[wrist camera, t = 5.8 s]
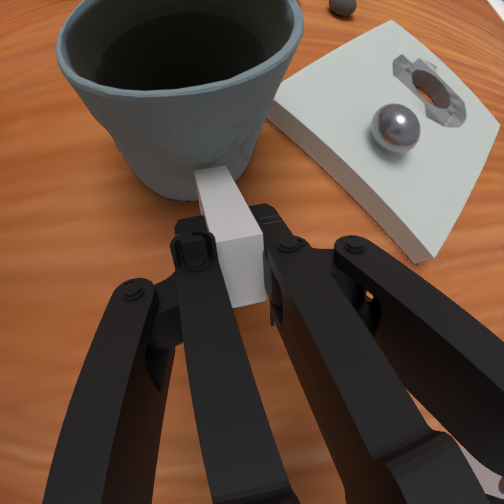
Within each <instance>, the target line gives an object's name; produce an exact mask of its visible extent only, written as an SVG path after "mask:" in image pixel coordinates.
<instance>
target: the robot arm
mask: <svg viewBox="0 0 504 504" xmlns="http://www.w3.org/2000/svg"><path fill="white" fill-rule="evenodd" d="M194 174H195V180H196V187H197V194H198V200H199V207H200V213H201V216H196V217H191V218H186V219H180V220H179V221H178V222H177V224H176V225H175V227H174V229H175V238H174V239H173V240H172V241H171V243H170V249H171V253H172V257H173V261H174V265H175V269H176V270H175V272H174V273H173V274H172V275H171V276H170V277H168V278H167V279H165V280H164V281H162V282H159V283H157V284H155V285H153V283H152V282H151V281H149V280H148V279H144V278H135V279H130V280H128V281H126V282H123V283H122V284H121V285H119V286H118V287H117V288H116V289H115V291H114V292H113V294H112V296H111V298H110V301H109V303H108V305H107V307H106V310H105V312H104V314H103V317H102V319H101V321H100V324H99V326H98V329H97V331H96V333H95V336H94V338H93V341H92V343H91V346H90V348H89V351H88V353H87V356H86V359H85V361H84V364H83V367H82V369H81V372H80V375H79V377H78V380H77V383H76V386H75V389H74V392H73V394H72V397H71V400H70V403H69V406H68V409H67V413H66V416H65V419H64V422H63V425H62V429H61V432H60V435H59V439H58V442H57V446H56V449H55V453H54V457H53V460H52V464H51V468H50V472H49V476H48V480H47V485H46V489H45V493H44V498H43V503H42V504H152V496H153V488H154V480H155V472H156V465H157V458H158V451H159V444H160V437H161V430H162V424H163V418H164V411H165V405H166V399H167V394H168V388H169V382H170V377H171V371H172V366H173V360H174V355H175V346H177V345H179V344H181V343H183V342H184V349H185V357H186V364H187V371H188V377H189V384H190V390H191V396H192V402H193V408H194V414H195V419H196V425H197V430H198V436H199V441H200V446H201V451H202V456H203V461H204V465H205V470H206V475H207V479H208V484H209V488H210V492H211V496H212V501H213V504H300V502H299V500H298V498H297V496H296V495H295V493H294V492H293V490H292V488H291V486H290V483H289V481H288V478H287V475H286V472H285V469H284V466H283V464H282V461H281V458H280V455H279V452H278V449H277V446H276V443H275V440H274V437H273V434H272V431H271V428H270V425H269V422H268V419H267V416H266V413H265V410H264V407H263V404H262V401H261V398H260V395H259V392H258V389H257V386H256V383H255V380H254V376H253V373H252V370H251V367H250V364H249V361H248V357H247V354H246V351H245V348H244V344H243V341H242V338H241V335H240V331H239V328H238V325H237V322H236V318H235V315H234V312H233V308H236V307H241V306H245V305H250V304H255V303H259V302H264V301H266V291H267V294H268V296H269V298H270V322H271V326H274V321H275V323H276V326H277V328H278V330H279V333H280V335H281V338H282V340H283V342H284V345H285V347H286V350H287V352H288V354H289V357H290V359H291V362H292V364H293V366H294V369H295V371H296V374H297V376H298V378H299V381H300V383H301V386H302V388H303V390H304V393H305V395H306V398H307V400H308V402H309V405H310V407H311V409H312V412H313V414H314V417H315V419H316V421H317V424H318V426H319V429H320V431H321V433H322V436H323V438H324V440H325V443H326V445H327V447H328V450H329V452H330V455H331V457H332V459H333V462H334V464H335V466H336V469H337V471H338V473H339V476H340V478H341V481H342V483H343V486H344V489H345V500H346V504H504V499H500V498H497V497H494V496H491V495H488V494H485V492H484V490H483V489H482V487H481V485H480V483H479V481H478V479H477V477H476V476H475V474H474V472H473V470H472V468H471V467H470V465H469V463H468V461H467V459H466V458H465V456H464V454H463V452H462V451H461V449H460V447H459V446H458V444H457V443H456V441H455V440H454V439H453V438H452V436H453V437H454V438H455V439H456V440H457V441H458V442H459V443H460V444H461V445H462V446H463V447H464V448H465V449H466V450H467V451H468V452H469V453H470V454H471V455H472V456H473V457H474V458H475V459H477V460H478V461H479V462H480V463H481V464H482V465H484V466H485V467H486V468H488V469H489V470H491V471H493V472H494V473H497V474H498V475H500V476H502V478H501V480H500V481H499V486H498V487H499V491H500V492H501V493H502V494H504V342H503V341H502V340H501V339H499V338H498V337H497V336H496V335H495V334H493V333H492V332H491V331H490V330H489V329H487V328H486V327H485V326H484V325H482V324H481V323H480V322H479V321H478V320H476V319H475V318H474V317H473V316H471V315H470V314H469V313H468V312H466V311H465V310H464V309H462V308H461V307H460V306H459V305H457V304H456V303H455V302H454V301H452V300H451V299H450V298H448V297H447V296H446V295H444V294H443V293H442V292H440V291H439V290H438V289H436V288H435V287H434V286H432V285H431V284H430V283H428V282H427V281H426V280H424V279H423V278H422V277H420V276H419V275H418V274H416V273H415V272H413V271H412V270H411V269H409V268H408V267H407V266H405V265H404V264H402V263H401V262H400V261H398V260H397V259H395V258H394V257H392V256H391V255H390V254H388V253H387V252H385V251H384V250H382V249H381V248H380V247H378V246H377V245H375V244H374V243H372V242H371V241H369V240H367V239H365V238H363V237H359V236H354V235H353V236H352V235H350V236H344V237H341V238H339V239H337V240H336V242H335V244H334V249H316V248H312V247H311V246H310V244H309V243H308V242H307V241H306V240H305V239H303V238H300V237H298V236H293V234H292V233H291V231H290V230H289V228H288V227H287V225H286V224H285V223H284V221H283V220H282V218H281V217H280V216H279V214H278V212H277V211H276V210H275V208H273V207H272V206H270V205H268V204H266V203H265V204H259V205H253V206H248V205H247V204H246V202H245V200H244V198H243V196H242V194H241V193H240V191H239V189H238V187H237V185H236V184H235V182H234V180H233V178H232V176H231V175H230V173H229V171H228V169H227V167H226V166H225V165H224V166H218V167H212V168H206V169H200V170H194ZM367 291H368V292H369V293H371V294H372V295H373V299H371V298H369V297H368V296H367V295H366V293H367ZM406 389H407V390H408V391H409V392H410V393H411V394H412V395H413V396H414V397H415V398H416V399H417V400H418V401H419V402H420V403H421V404H422V405H423V406H424V407H425V408H426V409H427V410H428V411H429V412H430V413H431V414H432V415H433V416H434V417H435V418H436V419H437V420H438V421H439V423H440V424H441V425H442V426H443V427H444V428H445V429H446V430H447V431H448V432H449V433H450V434H451V435H452V436H450V435H449V434H447V433H446V432H441V431H435V430H433V429H431V428H430V427H429V426H428V424H427V423H426V421H425V420H424V418H423V416H422V415H421V413H420V411H419V410H418V408H417V406H416V405H415V403H414V401H413V400H412V398H411V396H410V395H409V393H408V391H407V390H406Z"/></svg>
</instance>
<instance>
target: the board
mask: <svg viewBox="0 0 504 504" xmlns="http://www.w3.org/2000/svg"><path fill="white" fill-rule="evenodd" d="M415 86H416V87H418V88H420V89H422V90H423V91H424V92H425V93H426V94H427V95H428V96H429V97H430V98H431V99H432V101H433V103H434V105H435V106H434V105H432V104H430V103H428V102H427V101H426V100H425V99H424V98H423V97H422V96H421V95H420V94H419V93H418V91H417V89H416V88H415ZM391 103H397V104H401V105H404V106H406V107H408V108H409V109H410V110H412V111H413V112H414V114H415V115H416V116H417V118H418V120H419V123H420V128H421V134H420V138H419V141H418V143H417V144H416V146H415V147H414V148H413V149H411V150H410V151H408V152H406V153H402V154H394V153H390V152H388V151H386V150H384V149H382V148H381V147H380V146H379V145H378V144H377V143H376V141H375V140H374V138H373V135H372V132H371V121H372V118H373V115H374V114H375V112H376V111H377V110H378V109H379V108H380V107H382V106H384V105H386V104H391ZM266 118H267V119H268V120H269V121H270V122H271V123H273V124H274V125H275V126H276V127H277V128H278V129H280V130H281V131H282V132H283V133H284V134H285V135H287V136H288V137H289V138H290V139H291V140H292V141H293V142H294V143H296V144H297V145H298V146H299V147H300V148H301V149H302V150H303V151H305V152H306V153H307V154H308V155H309V156H310V157H311V158H312V159H313V160H314V161H315V162H316V163H318V164H319V165H320V166H321V167H322V168H323V169H324V170H325V171H326V172H327V173H328V174H329V175H330V176H331V177H332V178H333V179H334V180H335V181H336V182H337V183H339V184H340V185H341V186H342V187H343V188H344V189H345V190H346V191H347V192H348V193H349V194H350V195H351V196H352V197H353V198H354V199H355V200H356V201H357V202H358V203H359V204H360V205H361V206H362V208H363V209H364V210H365V211H366V212H367V213H368V214H369V215H370V216H371V217H372V218H373V219H374V220H375V221H376V222H377V223H378V224H379V225H380V226H381V227H382V229H383V230H384V231H385V232H386V233H387V234H388V235H389V236H390V237H391V238H392V239H393V241H394V242H395V243H396V244H397V245H398V246H399V247H400V248H401V249H402V251H403V252H404V253H405V254H406V255H407V256H408V257H409V259H410V260H411V261H412V262H413V263H414V264H417V263H420V262H423V261H427V260H430V259H434V258H435V256H436V255H437V253H438V251H439V250H440V248H441V246H442V245H443V243H444V241H445V240H446V238H447V236H448V234H449V233H450V231H451V229H452V227H453V225H454V224H455V222H456V220H457V218H458V216H459V214H460V213H461V211H462V209H463V207H464V205H465V203H466V201H467V199H468V197H469V195H470V193H471V191H472V189H473V187H474V185H475V183H476V181H477V179H478V177H479V175H480V172H481V170H482V168H483V166H484V164H485V161H486V159H487V157H488V154H489V152H490V150H491V147H492V145H493V143H494V140H495V138H496V135H497V133H498V130H499V127H500V124H499V123H498V122H497V120H496V119H495V118H494V117H493V115H492V114H491V113H490V112H489V111H488V110H487V108H486V107H485V106H484V105H483V104H482V103H481V101H480V100H479V99H478V98H477V97H476V96H475V95H474V94H473V93H472V91H471V90H470V89H469V88H468V87H467V86H466V85H465V84H464V83H463V82H462V81H461V80H460V79H459V78H458V77H457V76H456V75H455V74H454V73H453V72H452V71H451V70H450V69H449V68H448V67H447V66H446V65H445V64H444V63H443V62H442V61H441V60H440V59H439V58H437V57H436V56H435V55H434V54H433V53H432V52H431V51H430V50H429V49H427V48H426V47H425V46H424V45H423V44H422V43H420V42H419V41H418V40H417V39H416V38H414V37H413V36H412V35H411V34H410V33H408V32H407V31H406V30H405V29H403V28H402V27H401V26H399V25H398V24H397V23H396V22H394V21H393V20H390V21H388V22H386V23H384V24H382V25H380V26H378V27H376V28H374V29H372V30H370V31H368V32H366V33H364V34H362V35H360V36H358V37H357V38H355V39H353V40H351V41H349V42H348V43H346V44H344V45H342V46H340V47H339V48H337V49H335V50H333V51H332V52H330V53H328V54H327V55H325V56H323V57H321V58H320V59H318V60H317V61H315V62H313V63H312V64H310V65H308V66H307V67H305V68H303V69H302V70H300V71H299V72H297V73H296V74H294V75H292V76H291V77H289V78H288V79H286V80H285V81H283V82H282V83H281V84H280V86H279V88H278V90H277V92H276V95H275V97H274V100H273V101H272V103H271V105H270V107H268V115H267V117H266Z"/></svg>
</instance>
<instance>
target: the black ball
mask: <svg viewBox="0 0 504 504" xmlns="http://www.w3.org/2000/svg"><path fill="white" fill-rule="evenodd" d="M329 6H330V8H331V10H332V11H333V12H335V13H336V14H338V15H342V16H346V15H350V14H352V13H353V12H354V11H355V9H356V1H355V0H329Z"/></svg>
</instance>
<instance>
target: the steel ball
mask: <svg viewBox="0 0 504 504" xmlns="http://www.w3.org/2000/svg"><path fill="white" fill-rule="evenodd" d="M371 132H372V135H373V138H374V140H375V141H376V143H377V144H378V145H379V146H380V147H381V148H382V149H384V150H386V151H388V152H390V153H394V154H402V153H406V152H408V151H410V150H411V149H413V148H414V147H415V146H416V144H417V143H418V141H419V138H420V134H421V128H420V123H419V120H418V118H417V116H416V115H415V114H414V112H413V111H412V110H410V109H409V108H408V107H406V106H404V105H401V104H397V103H391V104H386V105H384V106H382V107H380V108H379V109H378V110H377V111H376V112H375V114H374V115H373V118H372V121H371Z"/></svg>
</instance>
